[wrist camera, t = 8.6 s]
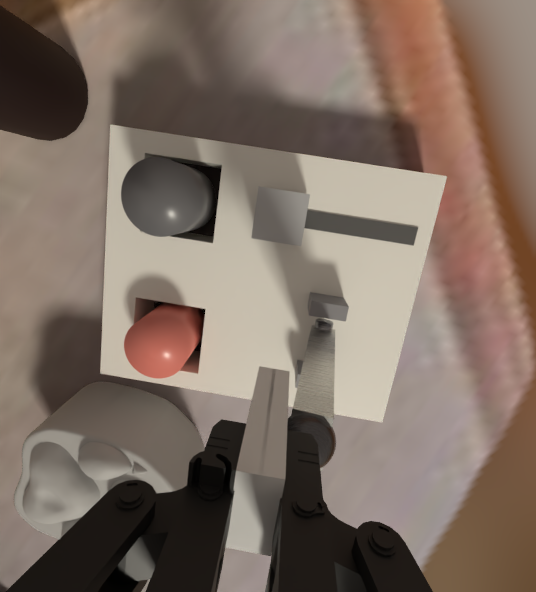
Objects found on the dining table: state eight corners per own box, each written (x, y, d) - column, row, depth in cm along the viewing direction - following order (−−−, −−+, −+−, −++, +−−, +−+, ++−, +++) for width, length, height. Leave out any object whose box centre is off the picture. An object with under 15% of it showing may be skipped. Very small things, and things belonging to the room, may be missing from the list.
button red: (151, 343, 31) (122, 372, 25) (155, 293, 30) (125, 312, 24) (203, 352, 31) (184, 383, 25) (208, 302, 29) (190, 323, 24)
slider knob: (256, 234, 25) (251, 238, 22) (262, 188, 24) (258, 186, 21) (300, 241, 24) (301, 246, 22) (308, 195, 24) (310, 194, 21)
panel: (123, 353, 32) (83, 388, 26) (135, 135, 28) (90, 115, 21) (371, 395, 32) (390, 442, 25) (425, 180, 27) (464, 173, 21)
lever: (301, 358, 26) (269, 486, 14) (309, 315, 25) (282, 412, 13) (331, 364, 26) (326, 501, 14) (340, 322, 25) (344, 427, 13)
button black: (153, 225, 27) (119, 230, 21) (158, 162, 26) (122, 151, 20) (212, 235, 27) (192, 242, 21) (219, 172, 25) (200, 163, 20)
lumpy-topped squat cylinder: (82, 370, 33) (10, 426, 25) (219, 414, 33) (193, 485, 25) (63, 462, 36) (-8, 542, 27) (190, 503, 36) (158, 595, 27)
